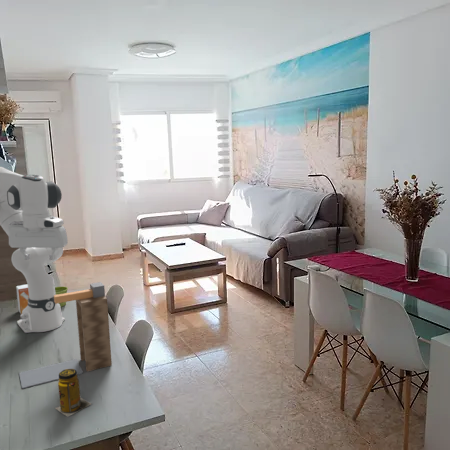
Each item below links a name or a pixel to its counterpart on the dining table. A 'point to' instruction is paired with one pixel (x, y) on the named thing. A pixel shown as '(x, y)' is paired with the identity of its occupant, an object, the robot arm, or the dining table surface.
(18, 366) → the dining table surface
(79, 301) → the walnut shelf
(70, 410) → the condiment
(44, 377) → the grey mat
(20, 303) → the small box
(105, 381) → the dining table surface
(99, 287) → the hammer with orange handle
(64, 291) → the plant pot
